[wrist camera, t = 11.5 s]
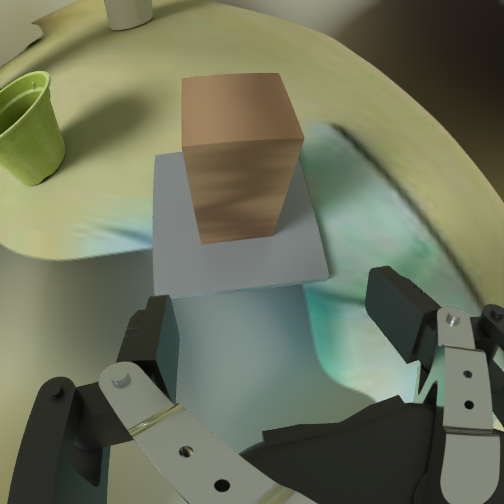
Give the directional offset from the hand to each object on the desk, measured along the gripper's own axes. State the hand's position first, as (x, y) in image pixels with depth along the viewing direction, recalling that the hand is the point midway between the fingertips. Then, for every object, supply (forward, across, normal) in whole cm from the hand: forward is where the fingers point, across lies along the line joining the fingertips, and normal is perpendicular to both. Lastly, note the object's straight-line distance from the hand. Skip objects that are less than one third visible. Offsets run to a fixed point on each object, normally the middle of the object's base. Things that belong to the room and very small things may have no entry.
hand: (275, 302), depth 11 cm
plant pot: (+18, +20, -7) cm, 28 cm away
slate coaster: (+12, +1, 0) cm, 12 cm away
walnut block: (+12, +1, -1) cm, 12 cm away
